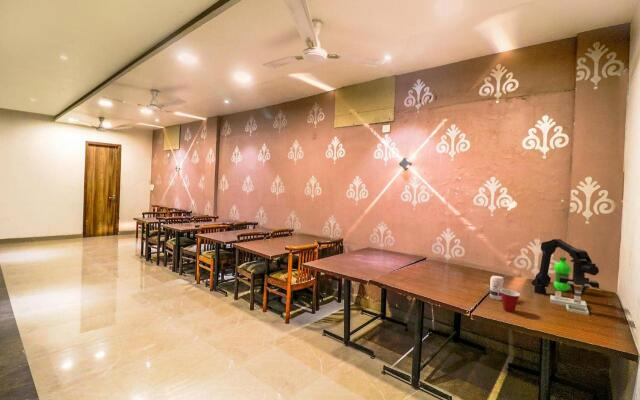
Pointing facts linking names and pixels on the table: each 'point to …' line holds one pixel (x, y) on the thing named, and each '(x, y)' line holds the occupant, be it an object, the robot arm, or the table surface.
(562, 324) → the table surface
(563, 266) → the plastic bottle
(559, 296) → the fuse
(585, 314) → the parts tray
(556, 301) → the fuse block
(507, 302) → the plastic cup
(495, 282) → the supplement can
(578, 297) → the fuse
